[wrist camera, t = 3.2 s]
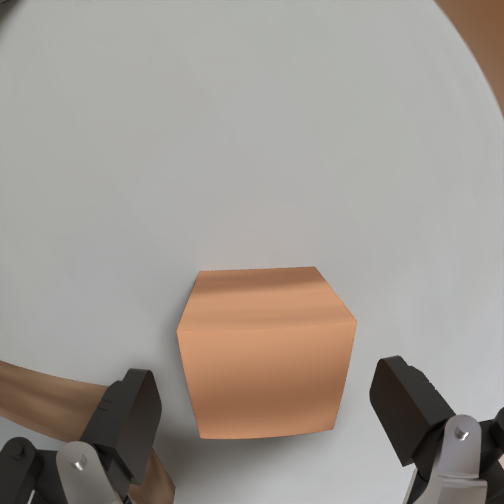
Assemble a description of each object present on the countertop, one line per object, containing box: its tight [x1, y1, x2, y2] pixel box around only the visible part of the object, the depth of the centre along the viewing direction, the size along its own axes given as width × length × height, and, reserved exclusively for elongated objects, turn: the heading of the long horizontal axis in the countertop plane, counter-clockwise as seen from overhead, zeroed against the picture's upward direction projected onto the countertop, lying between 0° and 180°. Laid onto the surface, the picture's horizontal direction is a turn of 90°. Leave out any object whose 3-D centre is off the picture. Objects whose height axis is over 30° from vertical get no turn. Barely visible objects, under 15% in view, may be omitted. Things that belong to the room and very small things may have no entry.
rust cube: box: [177, 267, 357, 439], centre depth 10 cm, size 5×5×5 cm
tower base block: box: [0, 361, 175, 504], centre depth 13 cm, size 14×14×5 cm
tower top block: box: [0, 416, 137, 504], centre depth 8 cm, size 12×12×5 cm
